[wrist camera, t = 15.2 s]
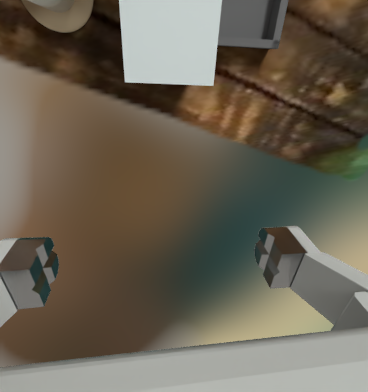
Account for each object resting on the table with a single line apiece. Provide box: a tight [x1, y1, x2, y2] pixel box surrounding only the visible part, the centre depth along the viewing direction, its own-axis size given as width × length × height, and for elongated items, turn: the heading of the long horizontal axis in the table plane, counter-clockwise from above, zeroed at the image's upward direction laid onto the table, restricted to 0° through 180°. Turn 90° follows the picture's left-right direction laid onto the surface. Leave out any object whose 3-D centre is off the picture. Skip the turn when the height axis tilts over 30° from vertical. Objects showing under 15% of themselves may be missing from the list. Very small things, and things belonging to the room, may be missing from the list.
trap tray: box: [217, 0, 288, 49], centre depth 32 cm, size 10×10×3 cm
